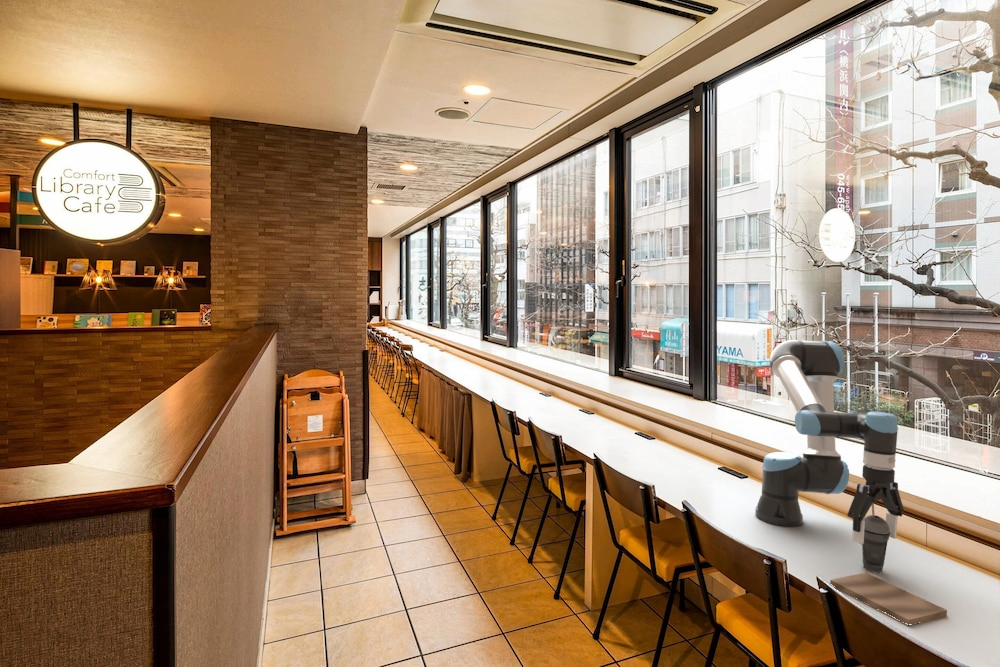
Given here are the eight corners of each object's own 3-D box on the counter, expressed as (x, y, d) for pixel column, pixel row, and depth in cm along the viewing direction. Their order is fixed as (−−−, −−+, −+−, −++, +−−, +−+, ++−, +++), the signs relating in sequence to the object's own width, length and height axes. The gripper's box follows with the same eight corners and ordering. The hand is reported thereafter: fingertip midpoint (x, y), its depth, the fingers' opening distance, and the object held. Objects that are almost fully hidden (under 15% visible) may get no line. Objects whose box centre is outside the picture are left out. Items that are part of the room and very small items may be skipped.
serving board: (830, 585, 146) (830, 579, 146) (866, 577, 151) (866, 572, 151) (908, 626, 128) (908, 620, 128) (946, 616, 133) (947, 610, 133)
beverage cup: (877, 577, 152) (881, 506, 151) (851, 565, 158) (855, 498, 158) (894, 572, 155) (898, 503, 154) (867, 561, 161) (871, 495, 161)
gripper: (861, 473, 147) (856, 550, 148) (921, 467, 156) (916, 539, 157) (835, 466, 154) (831, 539, 155) (894, 460, 163) (890, 529, 164)
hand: (874, 539), depth 156 cm, fingers open, 13 cm apart
